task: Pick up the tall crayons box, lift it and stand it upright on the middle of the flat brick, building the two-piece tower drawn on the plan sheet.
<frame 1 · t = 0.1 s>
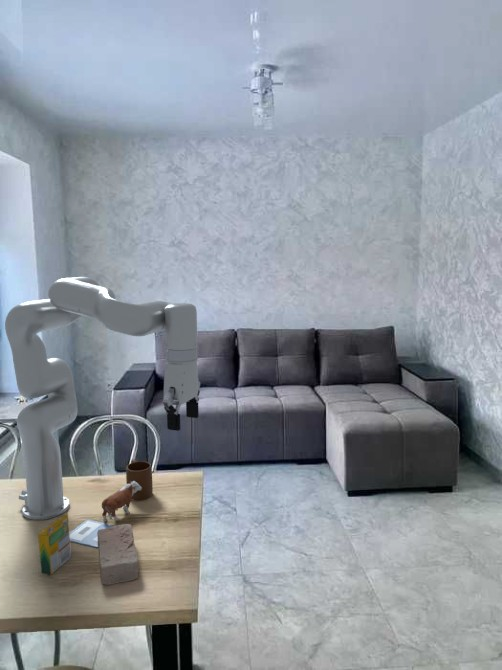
hand: (183, 423, 125), 31 cm above the table, tool pointing down, fingers open, 9 cm apart
brick: (118, 561, 121), on the table, touching plan sheet
crayon box: (56, 565, 120), on the table
bull figurine: (121, 515, 143), on the table
mug: (138, 492, 156), on the table
plan sheet: (97, 534, 132), on the table
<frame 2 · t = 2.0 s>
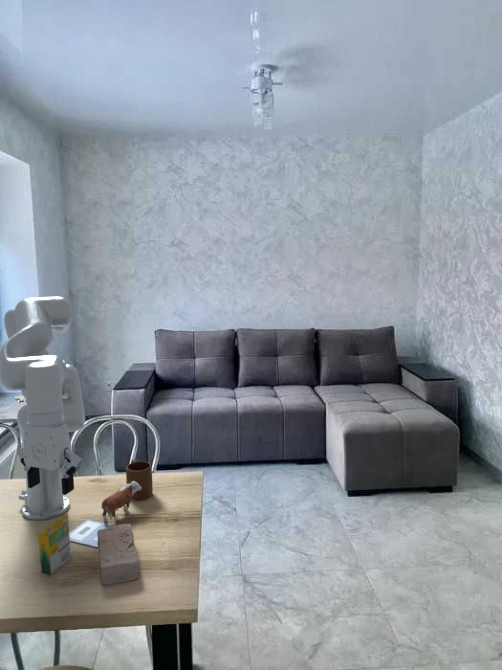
hand: (51, 488, 116), 19 cm above the table, tool pointing down, fingers open, 9 cm apart
nothing on the table moved.
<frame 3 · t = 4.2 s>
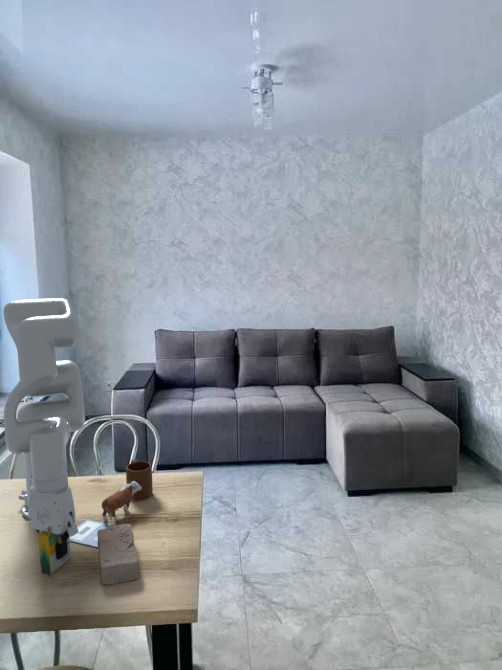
hand: (55, 554, 119), 3 cm above the table, tool pointing down, fingers closed on crayon box, 3 cm apart
crayon box: (56, 565, 120), on the table, touching gripper
everything else where it was.
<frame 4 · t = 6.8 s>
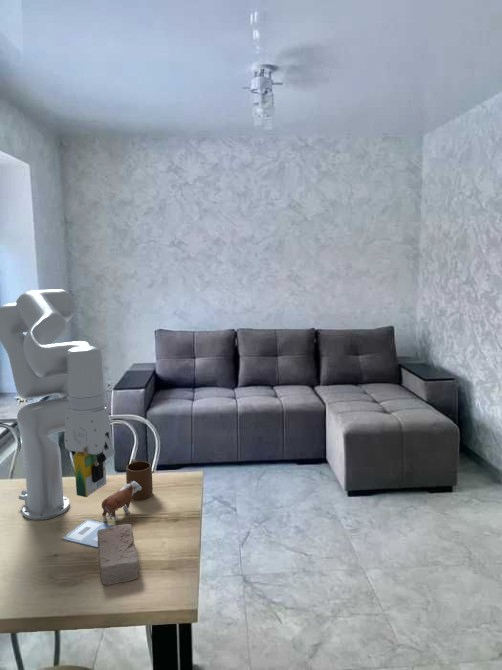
hand: (91, 478, 117), 21 cm above the table, tool pointing down, fingers closed on crayon box, 3 cm apart
crayon box: (91, 490, 117), point 18 cm above the table, touching gripper
everything else where it was.
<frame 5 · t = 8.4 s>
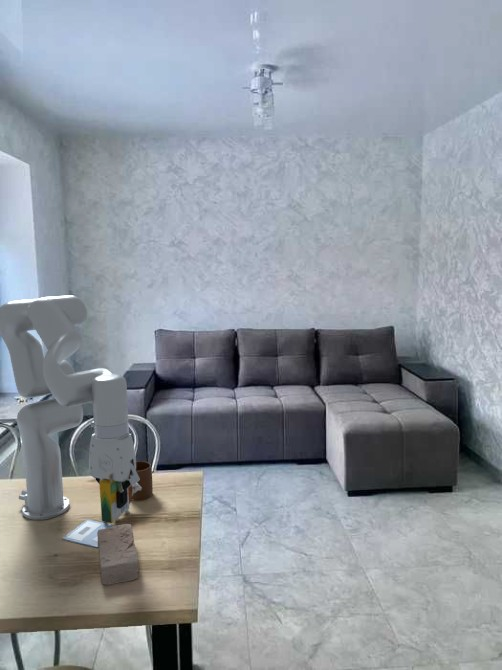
hand: (115, 503, 118), 15 cm above the table, tool pointing down, fingers closed on crayon box, 3 cm apart
crayon box: (115, 515, 119), point 12 cm above the table, touching gripper
everything else where it was.
when the fingers open (10 cm above the table, at t = 9.6 s): crayon box drops 2 cm, resting on brick.
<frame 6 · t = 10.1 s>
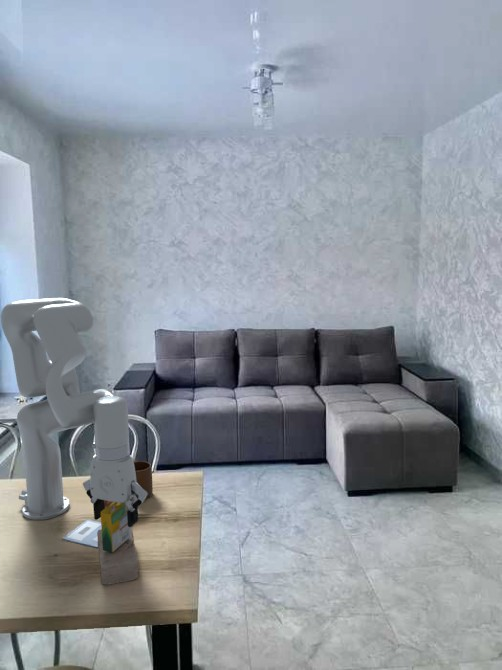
hand: (116, 520, 119), 11 cm above the table, tool pointing down, fingers open, 8 cm apart
brick: (118, 561, 121), on the table, touching crayon box, plan sheet
crayon box: (116, 543, 120), point 5 cm above the table, touching brick
everything else where it was.
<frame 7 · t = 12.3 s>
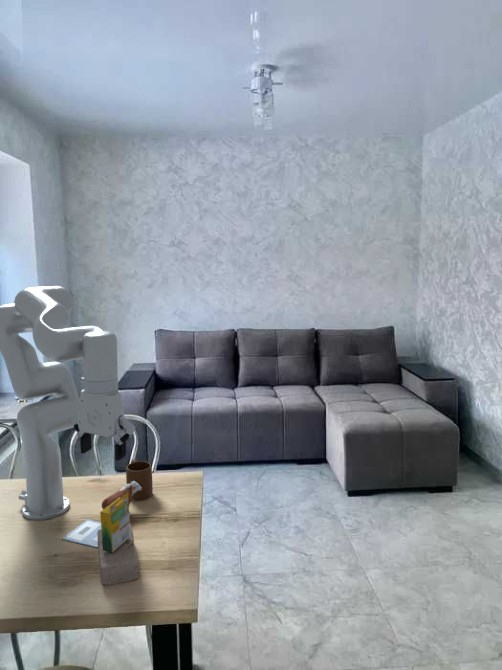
hand: (103, 454, 120), 25 cm above the table, tool pointing down, fingers open, 9 cm apart
nothing on the table moved.
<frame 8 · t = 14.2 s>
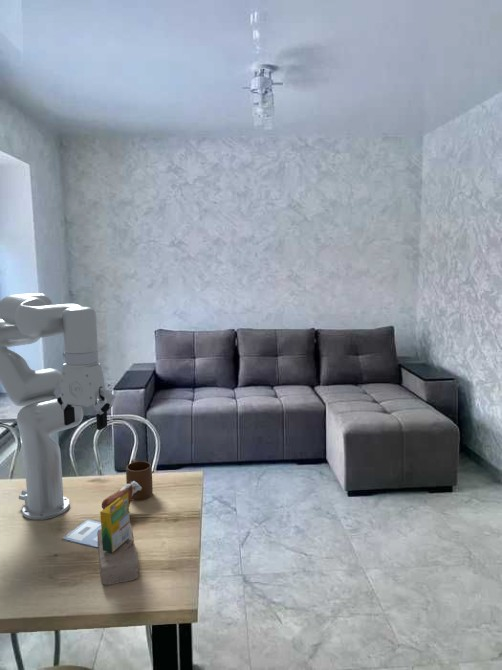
hand: (85, 425, 125), 30 cm above the table, tool pointing down, fingers open, 9 cm apart
nothing on the table moved.
at the end: crayon box inside the target area on the brick (0.1 cm from its centre), point 4.6 cm above the brick's base; crayon box tilted 1°; the gripper is holding nothing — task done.
